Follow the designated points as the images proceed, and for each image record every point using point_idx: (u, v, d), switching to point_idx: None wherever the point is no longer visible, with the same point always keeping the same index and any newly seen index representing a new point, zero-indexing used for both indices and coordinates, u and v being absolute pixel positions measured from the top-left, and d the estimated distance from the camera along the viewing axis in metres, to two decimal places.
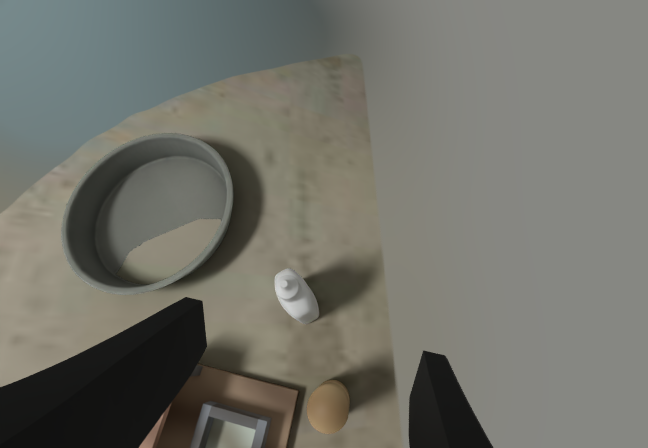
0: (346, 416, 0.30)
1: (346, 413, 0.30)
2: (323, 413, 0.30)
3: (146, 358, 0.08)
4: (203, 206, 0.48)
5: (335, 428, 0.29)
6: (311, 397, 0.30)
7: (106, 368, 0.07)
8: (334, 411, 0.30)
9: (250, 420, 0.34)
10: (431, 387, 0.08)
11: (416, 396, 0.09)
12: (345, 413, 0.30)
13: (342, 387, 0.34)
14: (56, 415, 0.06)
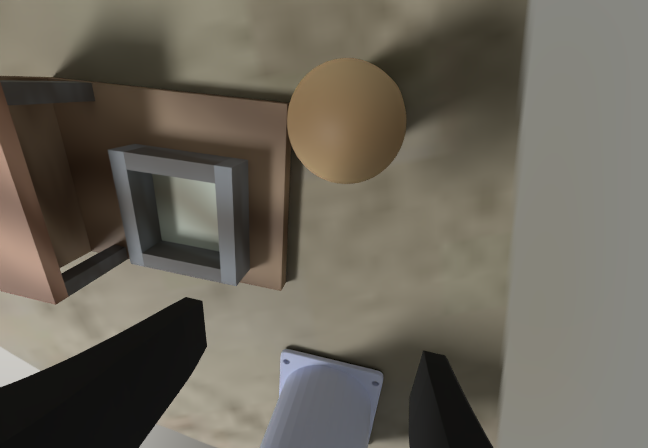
0: (399, 137, 0.10)
1: (399, 129, 0.10)
2: (334, 138, 0.11)
3: (146, 358, 0.08)
4: None
5: (369, 169, 0.11)
6: (295, 100, 0.10)
7: (106, 368, 0.07)
8: (363, 129, 0.10)
9: (200, 169, 0.17)
10: (431, 387, 0.08)
11: (416, 396, 0.09)
12: (396, 129, 0.10)
13: None
14: (56, 415, 0.06)
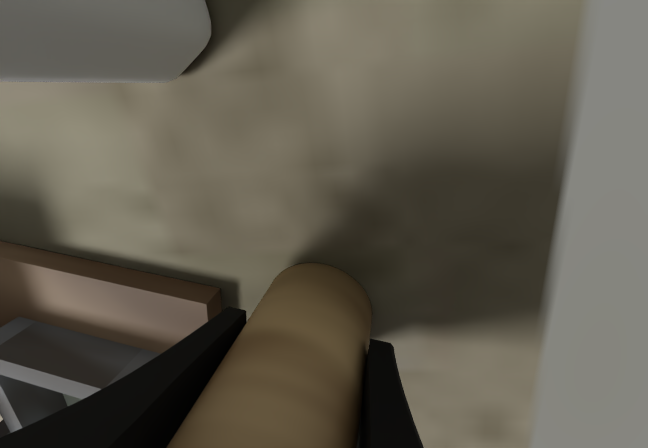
0: None
1: None
2: None
3: (200, 372, 0.08)
4: None
5: None
6: None
7: (166, 385, 0.07)
8: None
9: (86, 389, 0.12)
10: (368, 372, 0.08)
11: None
12: None
13: (330, 345, 0.08)
14: (126, 437, 0.06)
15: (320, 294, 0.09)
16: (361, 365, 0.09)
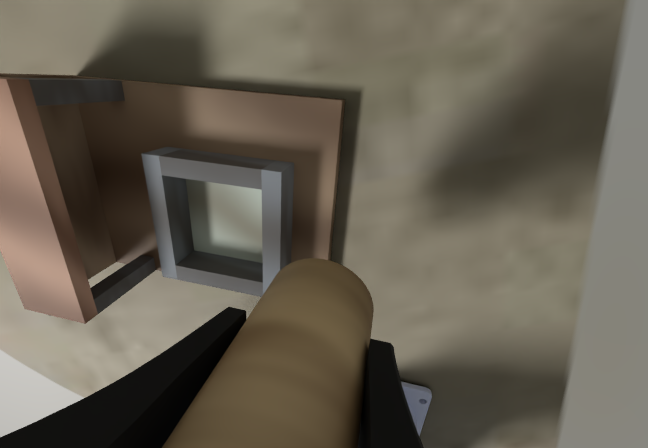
0: None
1: None
2: None
3: (199, 372, 0.08)
4: None
5: None
6: None
7: (166, 385, 0.07)
8: None
9: (245, 173, 0.15)
10: (368, 372, 0.08)
11: None
12: None
13: (333, 337, 0.08)
14: (126, 437, 0.06)
15: (323, 288, 0.10)
16: (363, 358, 0.09)
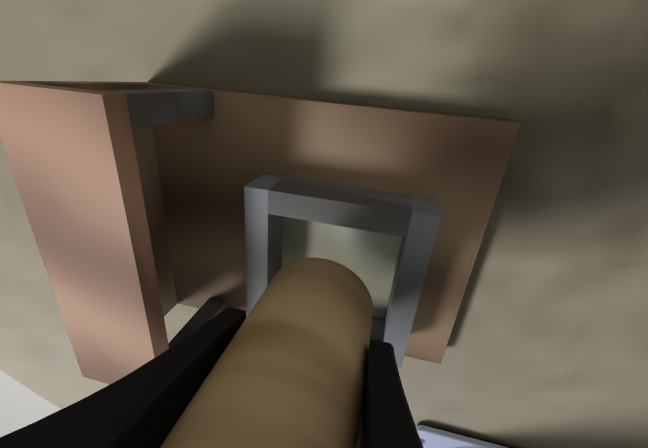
0: None
1: None
2: None
3: (200, 372, 0.08)
4: None
5: None
6: None
7: (166, 385, 0.07)
8: None
9: (388, 217, 0.12)
10: (368, 372, 0.08)
11: None
12: None
13: (333, 336, 0.08)
14: (126, 437, 0.06)
15: (322, 287, 0.10)
16: (363, 357, 0.09)
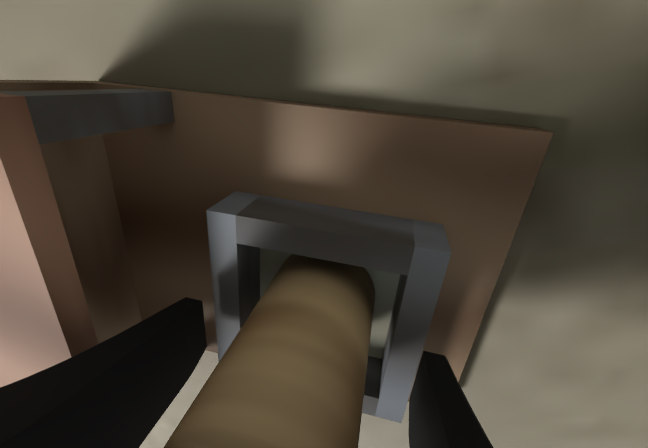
0: None
1: None
2: None
3: (146, 358, 0.08)
4: None
5: None
6: None
7: (106, 368, 0.07)
8: None
9: (384, 250, 0.09)
10: (431, 387, 0.08)
11: (416, 396, 0.09)
12: None
13: (339, 316, 0.09)
14: (56, 415, 0.06)
15: (329, 273, 0.10)
16: (366, 336, 0.09)
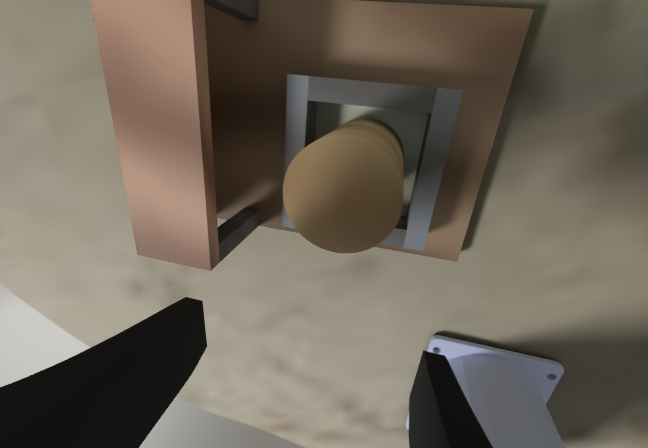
0: (396, 213, 0.10)
1: (396, 206, 0.10)
2: (330, 210, 0.11)
3: (146, 358, 0.08)
4: None
5: (365, 241, 0.11)
6: (291, 172, 0.10)
7: (106, 368, 0.07)
8: (359, 203, 0.10)
9: (415, 94, 0.13)
10: (431, 387, 0.08)
11: (416, 396, 0.09)
12: (393, 205, 0.10)
13: (385, 133, 0.13)
14: (56, 415, 0.06)
15: (373, 122, 0.14)
16: (402, 157, 0.13)
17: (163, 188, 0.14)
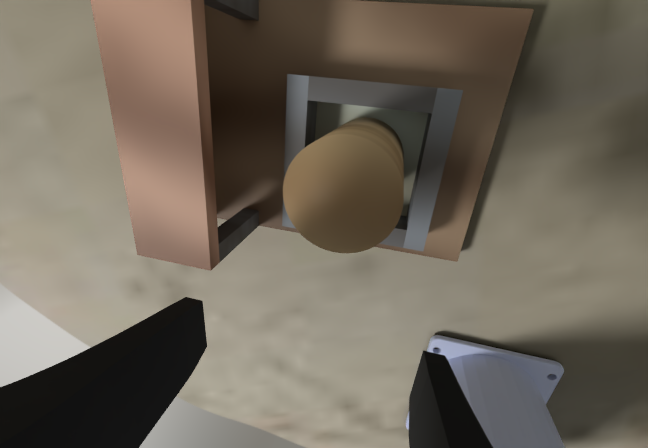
0: (396, 213, 0.10)
1: (396, 206, 0.10)
2: (330, 210, 0.11)
3: (146, 358, 0.08)
4: None
5: (365, 240, 0.11)
6: (291, 172, 0.10)
7: (106, 368, 0.07)
8: (359, 203, 0.10)
9: (416, 94, 0.13)
10: (431, 387, 0.08)
11: (416, 396, 0.09)
12: (393, 205, 0.10)
13: (385, 133, 0.13)
14: (56, 415, 0.06)
15: (373, 122, 0.14)
16: (402, 157, 0.13)
17: (163, 188, 0.14)
